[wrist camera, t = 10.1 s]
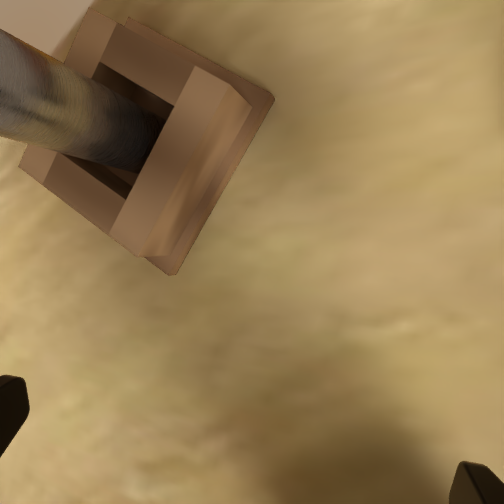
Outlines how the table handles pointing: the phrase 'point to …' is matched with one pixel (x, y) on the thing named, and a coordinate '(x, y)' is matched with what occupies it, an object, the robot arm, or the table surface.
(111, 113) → the steel pin
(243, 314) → the table surface
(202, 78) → the socket board
